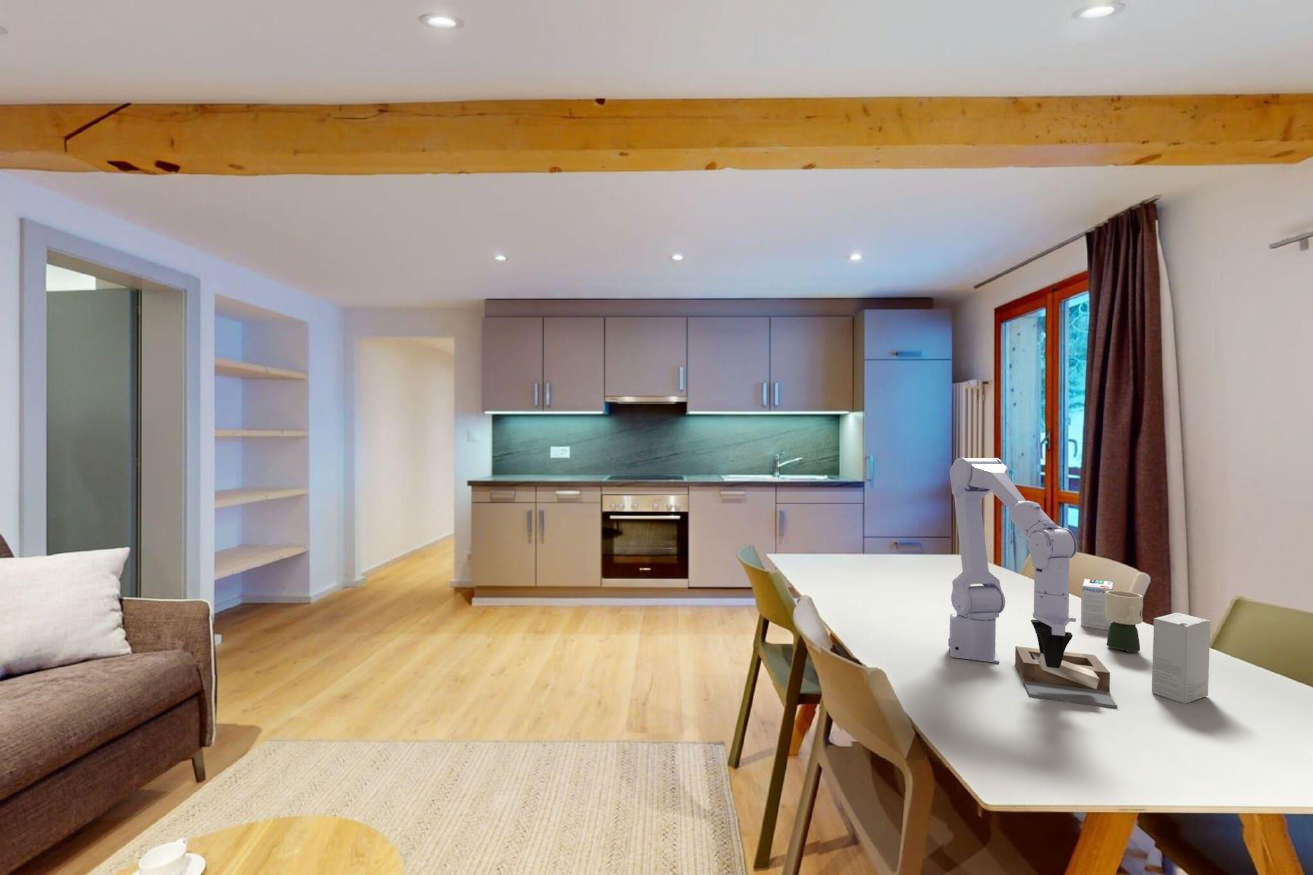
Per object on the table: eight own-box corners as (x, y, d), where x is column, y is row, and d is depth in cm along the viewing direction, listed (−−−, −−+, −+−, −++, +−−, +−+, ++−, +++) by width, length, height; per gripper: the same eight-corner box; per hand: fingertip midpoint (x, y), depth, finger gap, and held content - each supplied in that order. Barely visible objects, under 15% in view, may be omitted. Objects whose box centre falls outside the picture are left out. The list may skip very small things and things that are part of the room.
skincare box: (1174, 686, 130) (1175, 611, 130) (1210, 697, 124) (1212, 619, 124) (1149, 693, 126) (1151, 616, 126) (1186, 705, 121) (1187, 624, 121)
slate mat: (1029, 696, 124) (1029, 693, 124) (1023, 683, 131) (1023, 680, 131) (1117, 708, 119) (1117, 705, 119) (1106, 693, 126) (1106, 691, 126)
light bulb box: (1082, 617, 180) (1083, 577, 180) (1112, 621, 176) (1113, 581, 176) (1080, 626, 171) (1080, 584, 171) (1111, 631, 167) (1112, 588, 167)
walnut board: (1094, 673, 137) (1094, 655, 137) (1109, 692, 126) (1109, 672, 126) (1015, 663, 142) (1015, 646, 142) (1023, 681, 132) (1023, 662, 132)
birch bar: (1089, 680, 126) (1093, 670, 125) (1096, 689, 121) (1099, 679, 121) (1038, 662, 129) (1041, 652, 128) (1042, 669, 124) (1045, 659, 124)
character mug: (1151, 659, 146) (1152, 600, 146) (1113, 655, 148) (1114, 597, 148) (1132, 644, 156) (1132, 589, 156) (1097, 641, 158) (1098, 587, 158)
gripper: (1085, 602, 118) (1084, 678, 118) (1067, 585, 131) (1066, 653, 131) (1040, 598, 120) (1039, 673, 120) (1026, 582, 134) (1025, 649, 134)
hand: (1050, 662), depth 126 cm, fingers closed on birch bar, 4 cm apart
